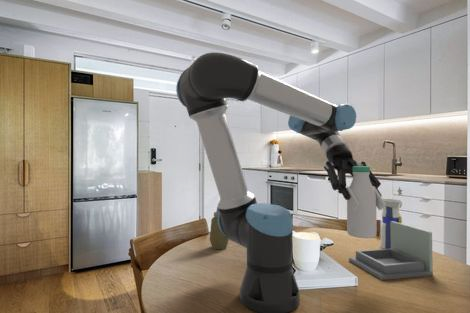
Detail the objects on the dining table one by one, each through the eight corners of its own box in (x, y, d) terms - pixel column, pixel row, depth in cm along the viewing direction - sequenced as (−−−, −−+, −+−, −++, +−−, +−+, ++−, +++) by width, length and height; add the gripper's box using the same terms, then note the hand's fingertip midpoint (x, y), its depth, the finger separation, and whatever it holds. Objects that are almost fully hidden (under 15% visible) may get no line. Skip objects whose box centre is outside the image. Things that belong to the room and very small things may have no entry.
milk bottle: (380, 240, 74) (379, 166, 74) (350, 238, 76) (349, 166, 76) (372, 232, 82) (371, 166, 82) (344, 231, 83) (344, 166, 84)
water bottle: (405, 247, 112) (404, 186, 112) (401, 252, 105) (400, 187, 106) (382, 243, 117) (382, 185, 118) (378, 248, 110) (377, 186, 111)
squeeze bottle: (233, 246, 113) (232, 203, 113) (221, 252, 106) (221, 205, 107) (217, 243, 117) (217, 201, 118) (205, 248, 110) (205, 204, 111)
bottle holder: (381, 280, 81) (380, 235, 81) (349, 260, 96) (348, 223, 97) (432, 275, 84) (432, 232, 84) (393, 257, 100) (392, 221, 100)
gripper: (358, 159, 96) (394, 214, 80) (305, 159, 92) (331, 216, 76) (368, 143, 91) (408, 198, 75) (312, 142, 87) (341, 200, 71)
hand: (369, 207), depth 75 cm, fingers closed on milk bottle, 7 cm apart
